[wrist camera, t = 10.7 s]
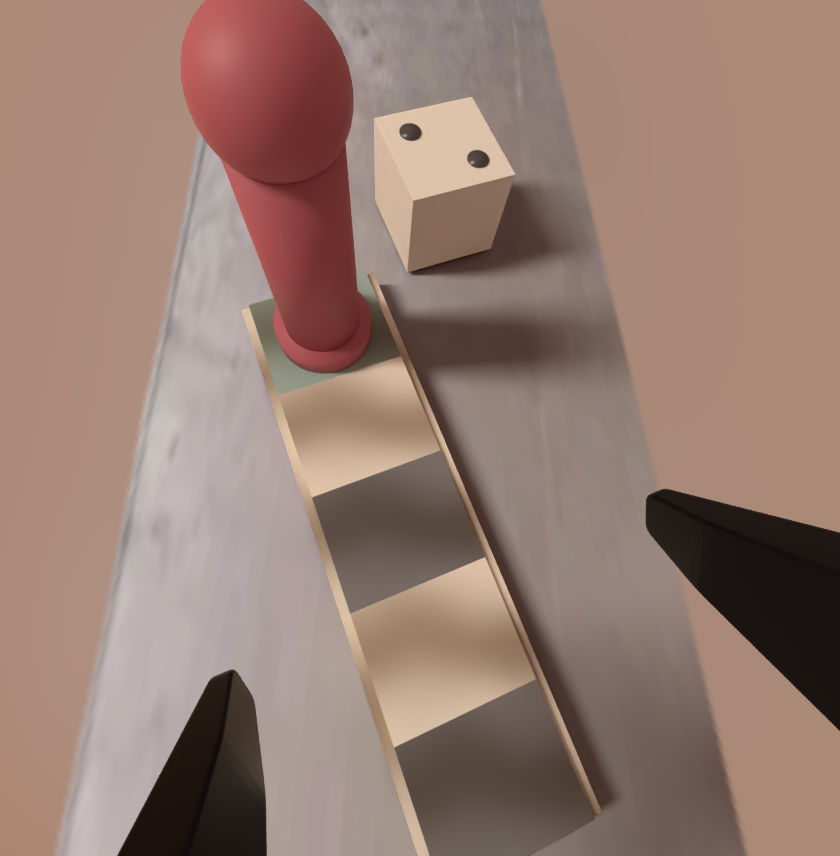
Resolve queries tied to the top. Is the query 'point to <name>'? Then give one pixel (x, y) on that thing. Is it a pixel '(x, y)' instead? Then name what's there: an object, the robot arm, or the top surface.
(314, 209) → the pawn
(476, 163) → the die
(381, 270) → the top surface
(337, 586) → the board
